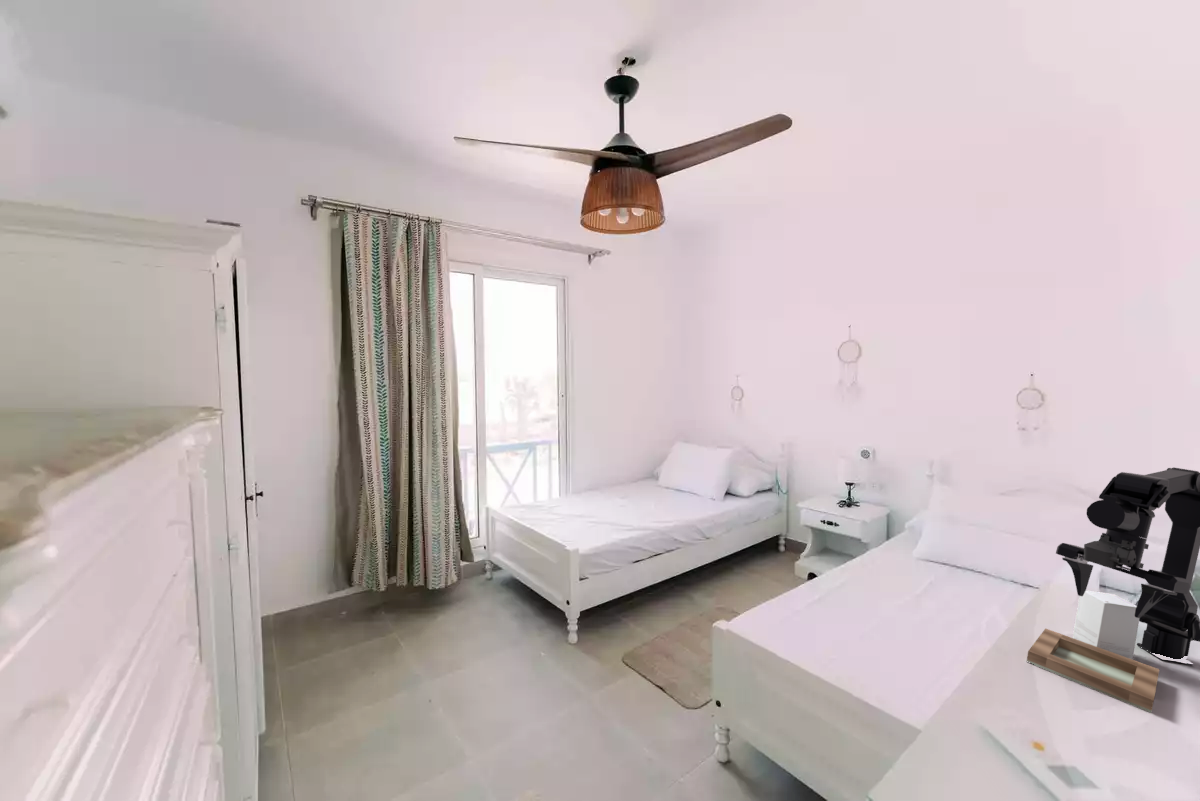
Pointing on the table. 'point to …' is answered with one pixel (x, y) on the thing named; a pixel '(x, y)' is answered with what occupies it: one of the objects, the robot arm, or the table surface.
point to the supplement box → (1106, 623)
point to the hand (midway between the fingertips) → (1107, 606)
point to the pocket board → (1096, 668)
